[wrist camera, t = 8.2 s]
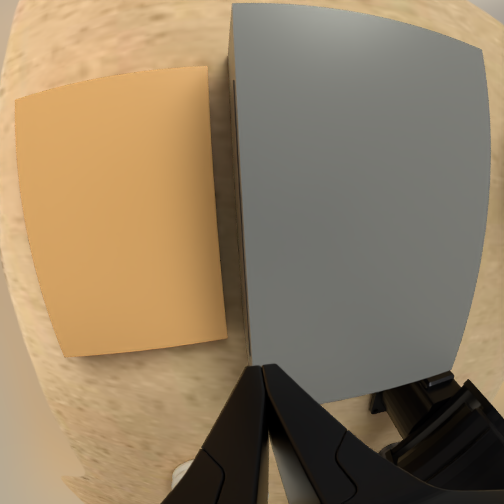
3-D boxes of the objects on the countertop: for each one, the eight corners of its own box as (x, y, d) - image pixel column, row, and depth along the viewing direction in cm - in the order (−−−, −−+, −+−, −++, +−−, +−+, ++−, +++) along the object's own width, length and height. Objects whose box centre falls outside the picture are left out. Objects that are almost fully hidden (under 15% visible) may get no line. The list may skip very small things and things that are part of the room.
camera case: (401, 316, 22) (451, 369, 15) (244, 338, 21) (254, 413, 14) (411, 69, 16) (481, 49, 9) (226, 54, 15) (230, 3, 9)
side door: (227, 338, 19) (64, 357, 17) (224, 330, 20) (67, 348, 18) (207, 66, 14) (14, 99, 12) (205, 70, 15) (21, 102, 13)
